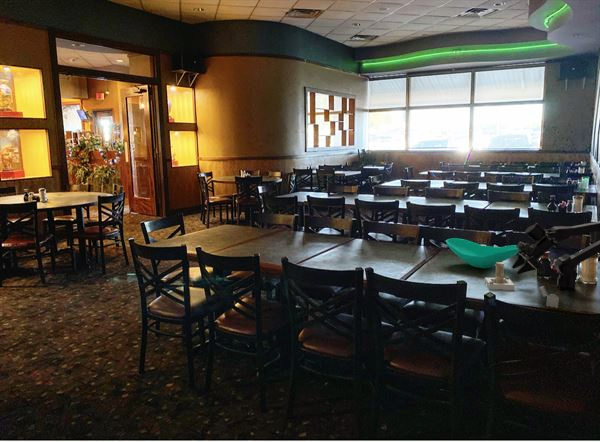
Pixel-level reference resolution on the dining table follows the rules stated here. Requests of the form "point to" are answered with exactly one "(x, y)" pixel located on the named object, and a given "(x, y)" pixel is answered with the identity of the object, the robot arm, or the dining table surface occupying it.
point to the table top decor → (480, 252)
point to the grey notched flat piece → (550, 298)
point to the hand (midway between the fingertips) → (514, 270)
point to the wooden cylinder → (499, 272)
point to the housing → (500, 284)
